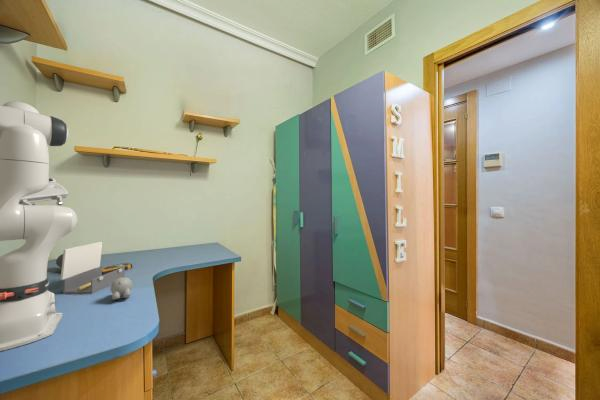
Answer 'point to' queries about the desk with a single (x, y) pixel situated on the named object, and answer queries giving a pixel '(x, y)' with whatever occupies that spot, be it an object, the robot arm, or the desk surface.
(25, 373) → the desk surface
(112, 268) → the electronic device
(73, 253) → the cover
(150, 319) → the desk surface
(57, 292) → the desk surface
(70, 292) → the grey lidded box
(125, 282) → the grey toy animal
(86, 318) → the desk surface
